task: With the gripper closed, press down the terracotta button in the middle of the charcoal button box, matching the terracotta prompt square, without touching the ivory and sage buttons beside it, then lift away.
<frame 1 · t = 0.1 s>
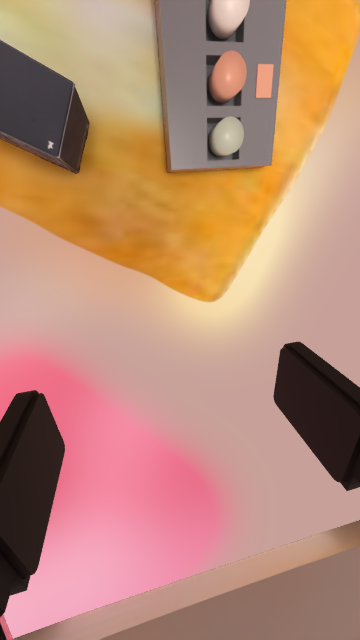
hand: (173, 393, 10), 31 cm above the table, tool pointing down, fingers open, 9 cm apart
sage button: (225, 138, 30), point 4 cm above the table, slide at 0.0 cm
button box: (215, 92, 31), on the table
small box: (39, 125, 29), on the table
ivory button: (228, 7, 25), point 4 cm above the table, slide at 0.0 cm
terracotta button: (226, 78, 27), point 4 cm above the table, slide at 0.0 cm
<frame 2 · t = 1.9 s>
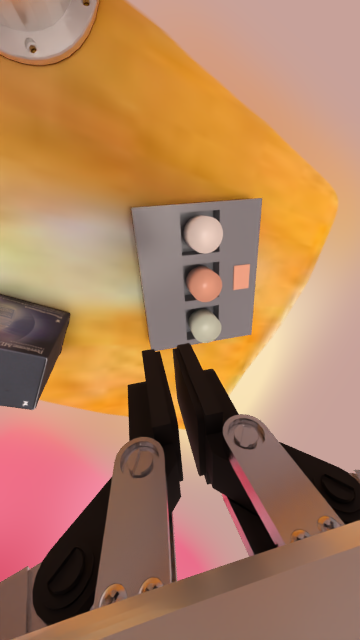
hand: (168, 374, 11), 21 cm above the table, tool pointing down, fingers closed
sage button: (204, 325, 30), point 4 cm above the table, slide at 0.0 cm
button box: (194, 275, 31), on the table
small box: (21, 320, 29), on the table
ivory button: (202, 234, 25), point 4 cm above the table, slide at 0.0 cm
terracotta button: (203, 283, 28), point 4 cm above the table, slide at 0.0 cm
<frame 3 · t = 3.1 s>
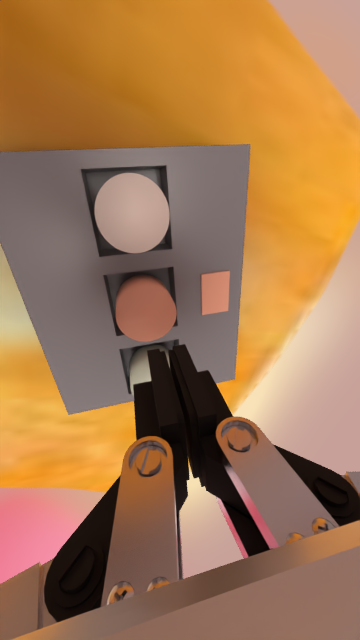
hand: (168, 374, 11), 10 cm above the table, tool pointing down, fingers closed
sage button: (154, 373, 18), point 4 cm above the table, slide at 0.0 cm
button box: (140, 288, 19), on the table
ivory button: (132, 214, 13), point 4 cm above the table, slide at 0.0 cm
terracotta button: (144, 307, 15), point 4 cm above the table, slide at 0.0 cm
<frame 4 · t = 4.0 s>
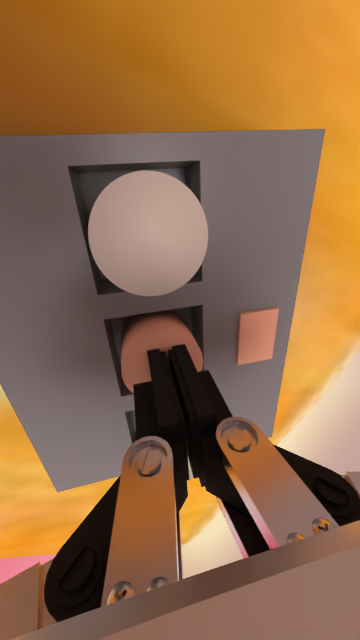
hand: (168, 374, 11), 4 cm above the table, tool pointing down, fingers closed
sage button: (171, 441, 13), point 4 cm above the table, slide at 0.0 cm
button box: (152, 324, 14), on the table
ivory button: (147, 235, 8), point 4 cm above the table, slide at 0.0 cm
terracotta button: (159, 352, 12), point 3 cm above the table, slide at 0.8 cm, touching gripper
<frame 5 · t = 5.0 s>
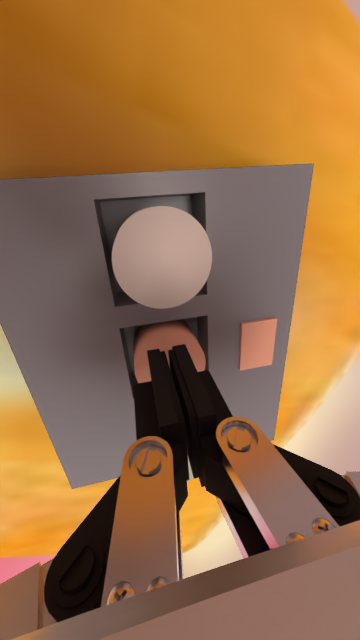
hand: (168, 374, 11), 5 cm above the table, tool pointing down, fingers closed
sage button: (178, 442, 14), point 4 cm above the table, slide at 0.0 cm
button box: (161, 333, 15), on the table
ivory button: (159, 255, 10), point 4 cm above the table, slide at 0.0 cm
terracotta button: (167, 354, 13), point 3 cm above the table, slide at 1.2 cm
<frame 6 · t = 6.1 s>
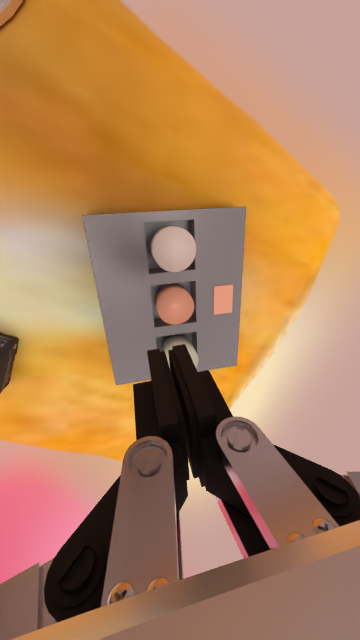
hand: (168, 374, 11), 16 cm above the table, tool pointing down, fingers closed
sage button: (178, 355, 25), point 4 cm above the table, slide at 0.0 cm
button box: (169, 295, 26), on the table
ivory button: (172, 248, 21), point 4 cm above the table, slide at 0.0 cm
terracotta button: (173, 303, 24), point 3 cm above the table, slide at 1.2 cm
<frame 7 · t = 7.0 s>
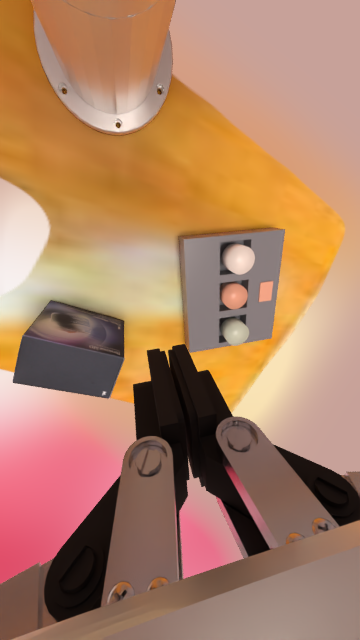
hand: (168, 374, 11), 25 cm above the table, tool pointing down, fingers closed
sage button: (234, 331, 37), point 4 cm above the table, slide at 0.0 cm
button box: (225, 289, 37), on the table
small box: (84, 327, 35), on the table
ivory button: (237, 258, 32), point 4 cm above the table, slide at 0.0 cm
terracotta button: (232, 294, 35), point 3 cm above the table, slide at 1.2 cm
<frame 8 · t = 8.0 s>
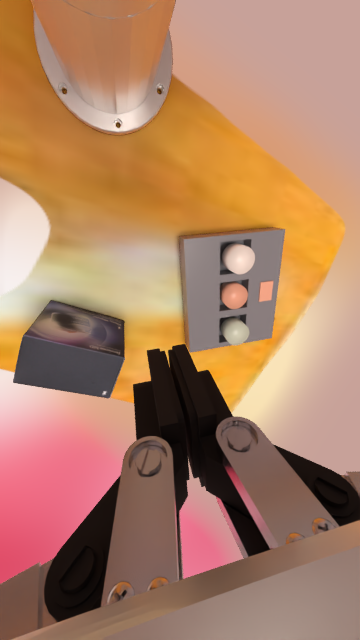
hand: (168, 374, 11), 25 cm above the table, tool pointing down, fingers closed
sage button: (234, 330, 37), point 4 cm above the table, slide at 0.0 cm
button box: (226, 289, 37), on the table
small box: (84, 327, 35), on the table
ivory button: (237, 258, 32), point 4 cm above the table, slide at 0.0 cm
terracotta button: (232, 294, 35), point 3 cm above the table, slide at 1.2 cm
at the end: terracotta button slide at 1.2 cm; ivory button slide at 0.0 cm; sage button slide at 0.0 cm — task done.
